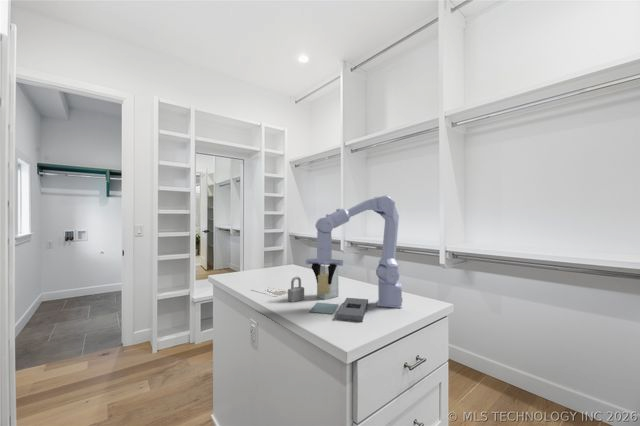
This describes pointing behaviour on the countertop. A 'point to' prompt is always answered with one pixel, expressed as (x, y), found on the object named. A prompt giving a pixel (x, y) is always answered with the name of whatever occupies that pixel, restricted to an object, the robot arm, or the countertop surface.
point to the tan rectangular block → (323, 283)
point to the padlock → (295, 291)
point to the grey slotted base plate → (353, 309)
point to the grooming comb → (277, 292)
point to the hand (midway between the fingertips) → (324, 283)
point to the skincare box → (333, 286)
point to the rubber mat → (324, 308)
